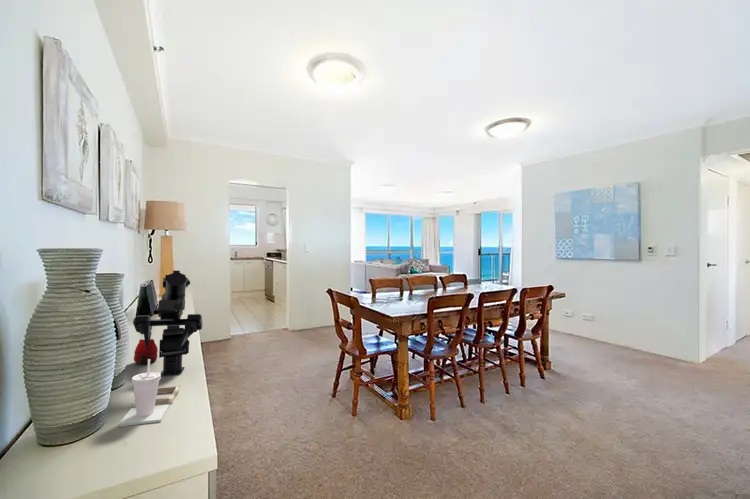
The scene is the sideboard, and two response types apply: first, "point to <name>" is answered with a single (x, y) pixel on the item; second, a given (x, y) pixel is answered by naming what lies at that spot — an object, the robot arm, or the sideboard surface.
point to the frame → (165, 400)
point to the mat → (133, 419)
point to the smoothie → (145, 391)
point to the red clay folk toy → (145, 352)
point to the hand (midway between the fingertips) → (164, 346)
